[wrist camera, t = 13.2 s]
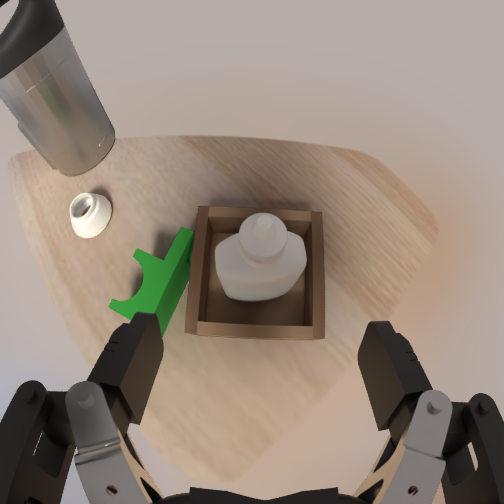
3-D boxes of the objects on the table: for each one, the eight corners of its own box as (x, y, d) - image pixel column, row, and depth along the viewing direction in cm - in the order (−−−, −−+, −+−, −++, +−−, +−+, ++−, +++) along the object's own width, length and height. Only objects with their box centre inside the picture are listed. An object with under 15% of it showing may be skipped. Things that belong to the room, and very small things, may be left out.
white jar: (89, 248, 25) (121, 214, 27) (74, 238, 23) (109, 201, 24) (69, 221, 27) (99, 190, 28) (55, 209, 24) (87, 176, 25)
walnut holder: (195, 334, 23) (184, 332, 19) (205, 226, 26) (198, 206, 22) (312, 340, 23) (324, 338, 19) (312, 231, 26) (321, 211, 22)
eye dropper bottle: (237, 248, 25) (227, 165, 13) (297, 271, 24) (336, 204, 13) (217, 293, 23) (186, 241, 12) (279, 318, 23) (308, 290, 11)
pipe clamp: (168, 237, 26) (154, 215, 22) (203, 251, 26) (194, 231, 21) (118, 343, 22) (93, 340, 18) (151, 362, 22) (131, 364, 18)
